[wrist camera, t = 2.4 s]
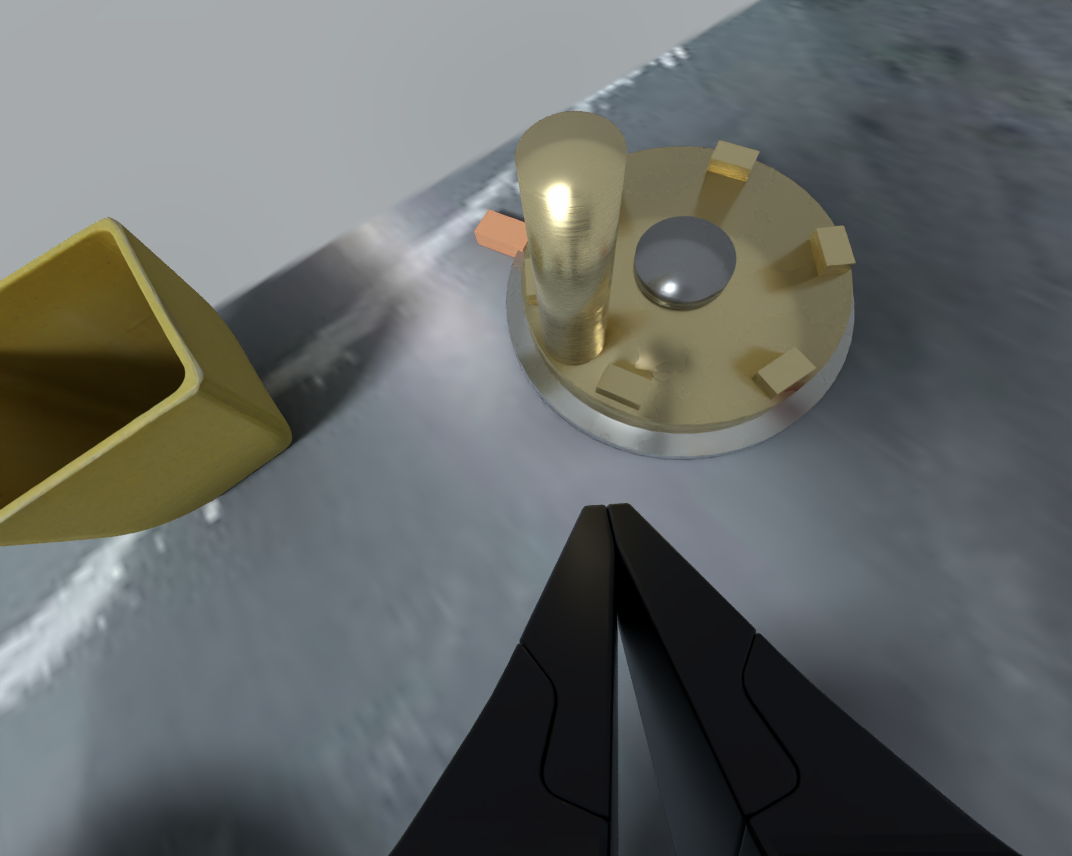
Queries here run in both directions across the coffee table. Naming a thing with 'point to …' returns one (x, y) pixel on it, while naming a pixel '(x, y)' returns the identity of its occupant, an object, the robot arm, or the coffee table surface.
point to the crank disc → (657, 331)
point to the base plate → (651, 437)
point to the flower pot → (119, 395)
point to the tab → (502, 233)
